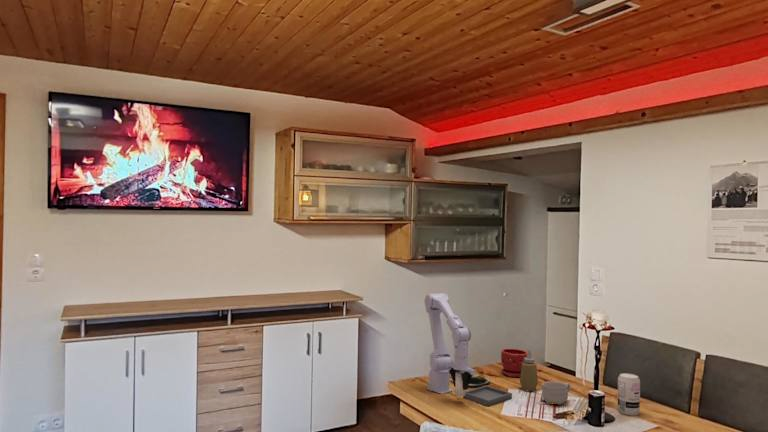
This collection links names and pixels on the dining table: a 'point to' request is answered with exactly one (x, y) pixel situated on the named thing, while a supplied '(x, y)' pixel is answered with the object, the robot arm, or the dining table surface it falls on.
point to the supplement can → (629, 394)
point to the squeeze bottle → (529, 373)
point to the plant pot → (512, 361)
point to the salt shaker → (459, 384)
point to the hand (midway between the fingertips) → (460, 387)
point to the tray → (487, 395)
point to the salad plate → (477, 381)
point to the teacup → (555, 392)
